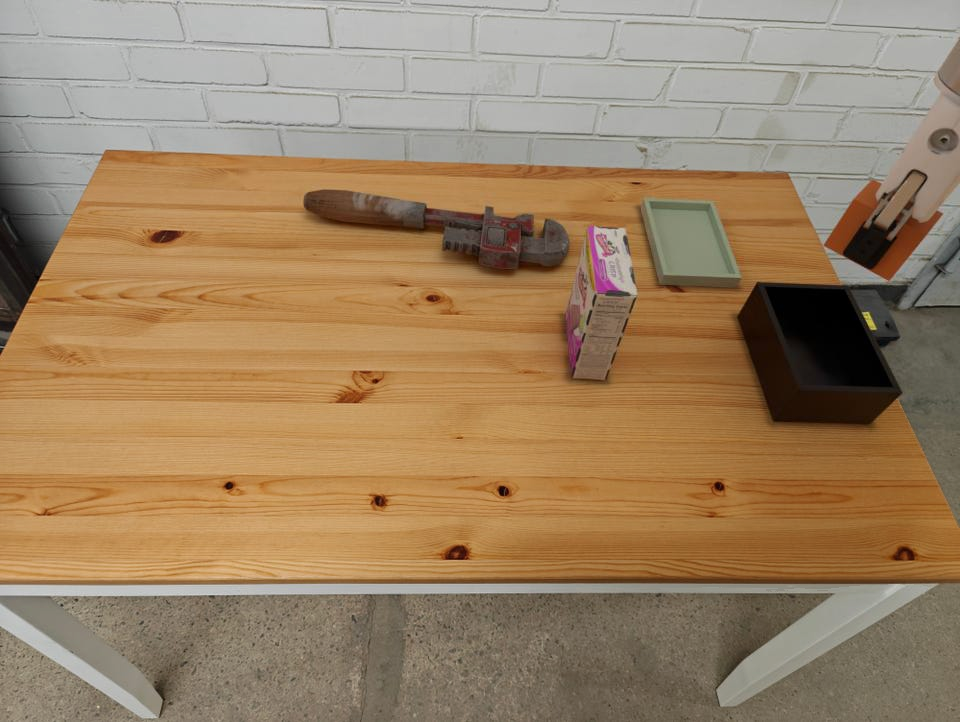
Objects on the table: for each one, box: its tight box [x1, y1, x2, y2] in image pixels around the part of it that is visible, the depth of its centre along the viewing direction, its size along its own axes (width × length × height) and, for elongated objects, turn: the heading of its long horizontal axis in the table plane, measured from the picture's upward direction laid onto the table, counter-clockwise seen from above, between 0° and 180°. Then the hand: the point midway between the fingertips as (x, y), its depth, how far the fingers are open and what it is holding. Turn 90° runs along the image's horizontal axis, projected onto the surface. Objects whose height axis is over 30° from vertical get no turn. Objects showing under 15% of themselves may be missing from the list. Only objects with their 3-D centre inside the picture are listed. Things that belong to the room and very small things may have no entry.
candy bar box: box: [565, 225, 639, 381], centre depth 77 cm, size 11×5×16 cm, turn 179°
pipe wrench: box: [302, 188, 571, 270], centre depth 93 cm, size 40×12×5 cm, turn 85°
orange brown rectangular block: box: [822, 179, 944, 282], centre depth 62 cm, size 7×4×6 cm, turn 46°
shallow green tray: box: [639, 197, 743, 289], centre depth 97 cm, size 18×12×2 cm, turn 0°
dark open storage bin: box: [736, 281, 903, 425], centre depth 81 cm, size 18×13×7 cm
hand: (869, 247), depth 64 cm, fingers closed on orange brown rectangular block, 4 cm apart
